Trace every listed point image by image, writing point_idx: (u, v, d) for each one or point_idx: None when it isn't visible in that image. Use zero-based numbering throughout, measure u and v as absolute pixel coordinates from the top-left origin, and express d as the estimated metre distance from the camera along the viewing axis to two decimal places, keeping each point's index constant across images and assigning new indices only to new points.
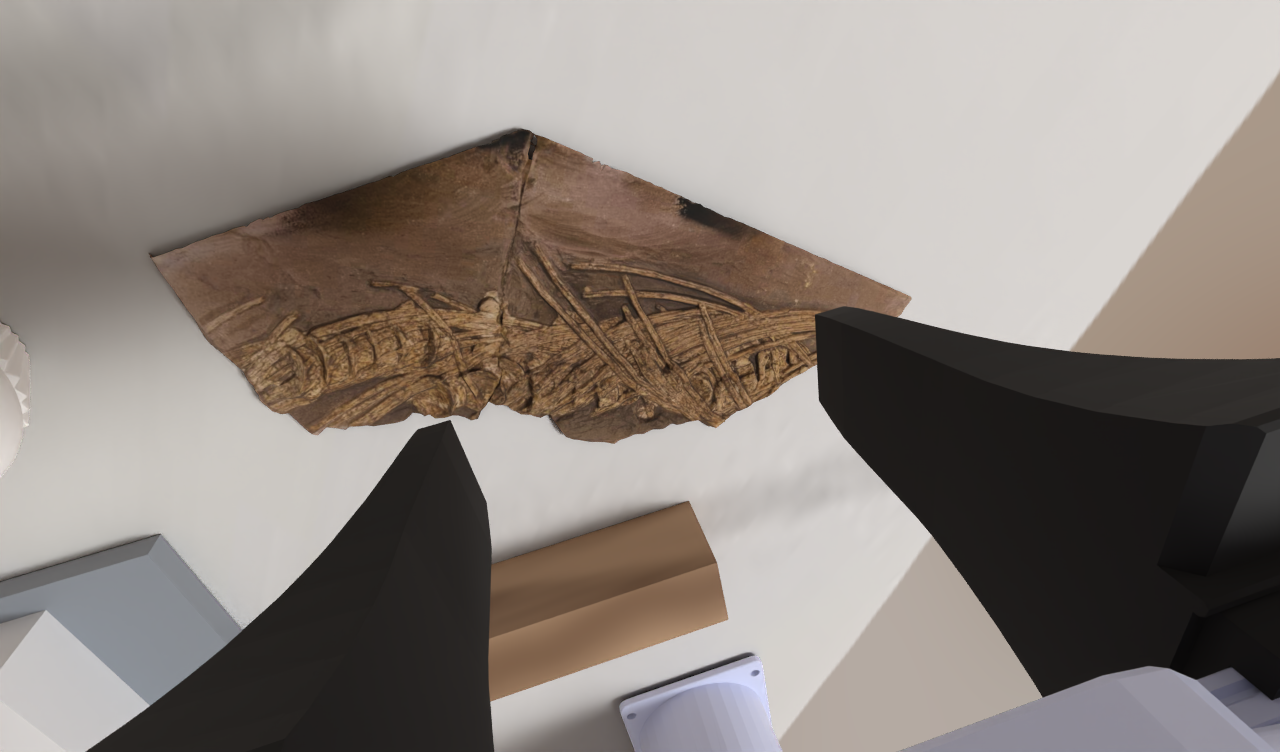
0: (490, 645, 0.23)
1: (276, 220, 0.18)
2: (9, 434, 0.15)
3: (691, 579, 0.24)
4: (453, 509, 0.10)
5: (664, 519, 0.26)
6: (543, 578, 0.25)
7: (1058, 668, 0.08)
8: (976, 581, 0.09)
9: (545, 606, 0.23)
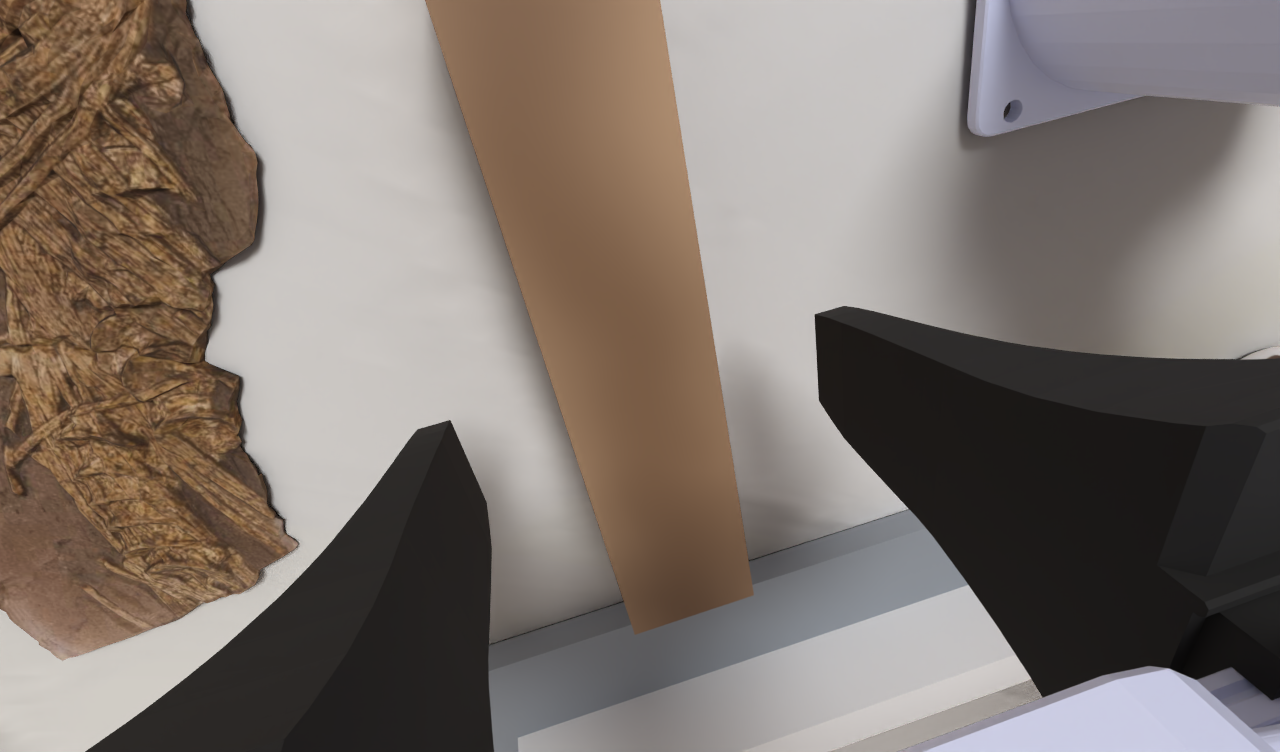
0: (587, 435, 0.13)
1: None
2: None
3: (462, 17, 0.09)
4: (453, 509, 0.10)
5: None
6: None
7: (1057, 667, 0.08)
8: (975, 581, 0.09)
9: None
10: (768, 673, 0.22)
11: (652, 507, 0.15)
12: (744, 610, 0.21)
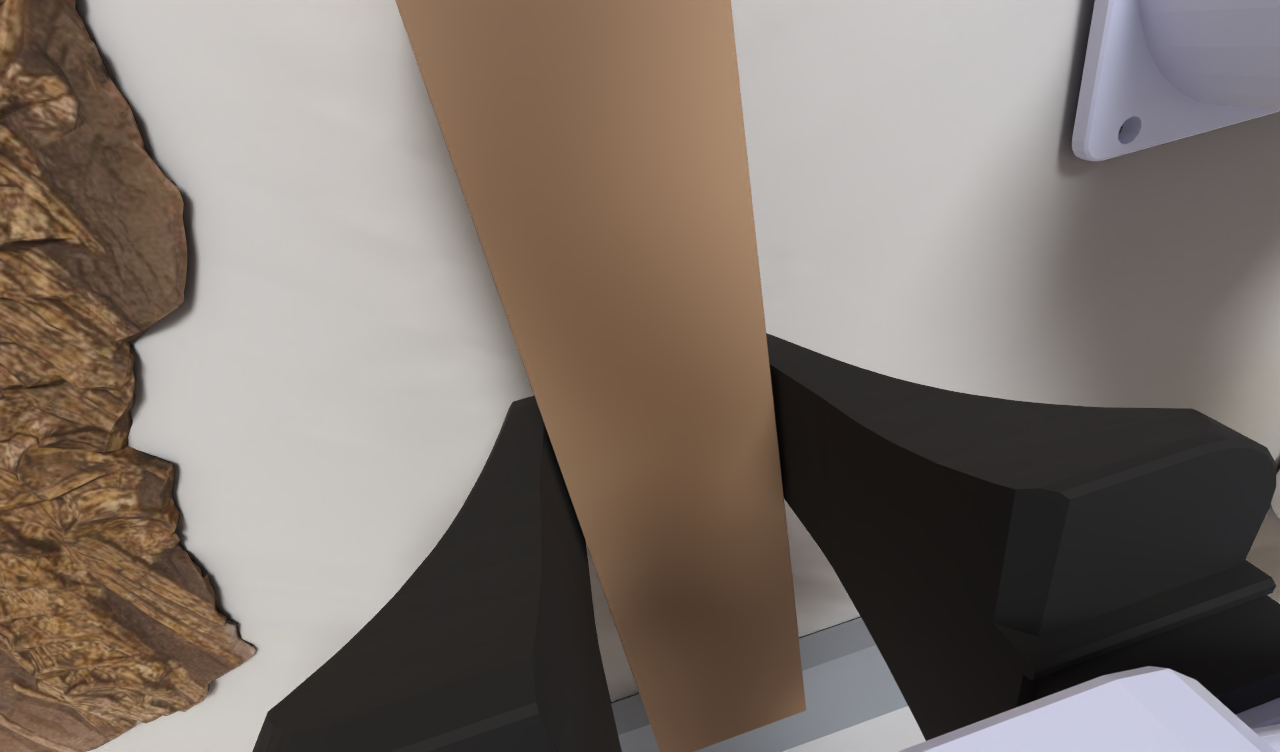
0: (612, 549, 0.10)
1: None
2: None
3: (446, 12, 0.06)
4: (560, 477, 0.10)
5: None
6: None
7: (932, 712, 0.08)
8: (868, 618, 0.09)
9: None
10: None
11: (689, 625, 0.12)
12: None
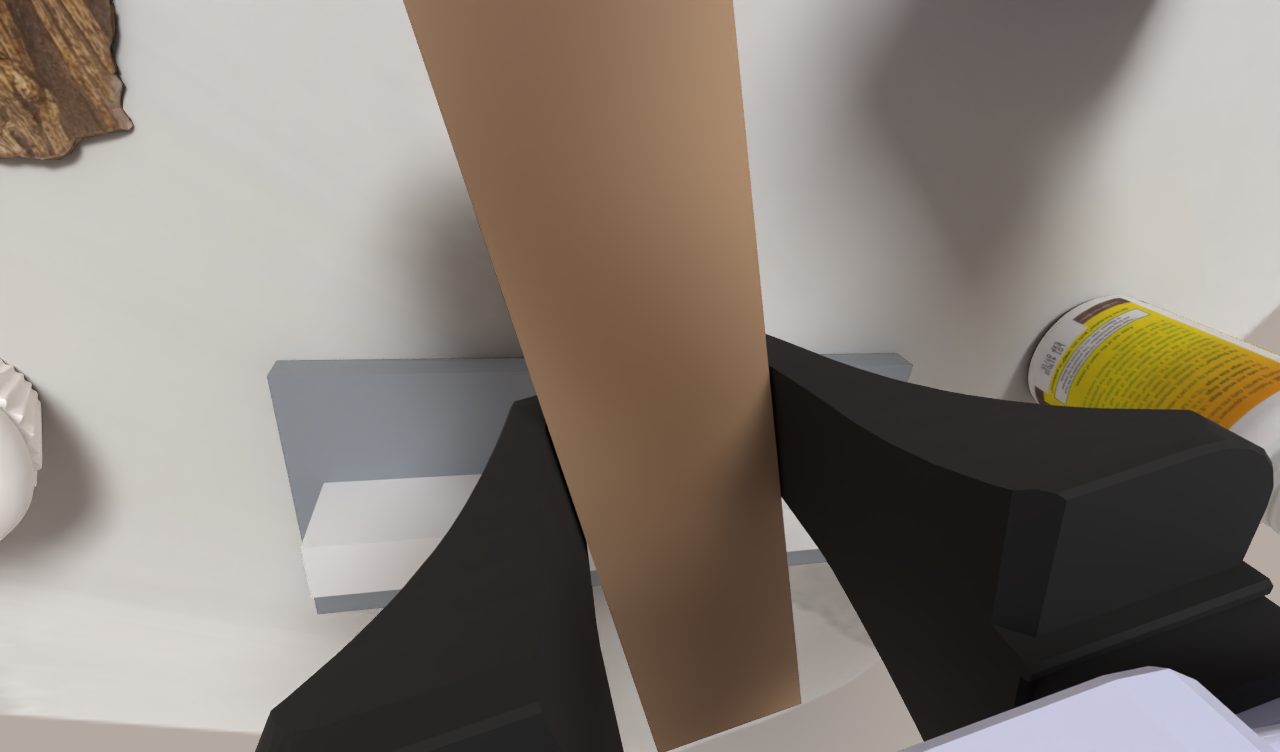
0: (609, 538, 0.10)
1: None
2: None
3: None
4: (561, 476, 0.10)
5: None
6: None
7: (932, 714, 0.08)
8: (867, 619, 0.09)
9: None
10: None
11: (685, 616, 0.12)
12: None
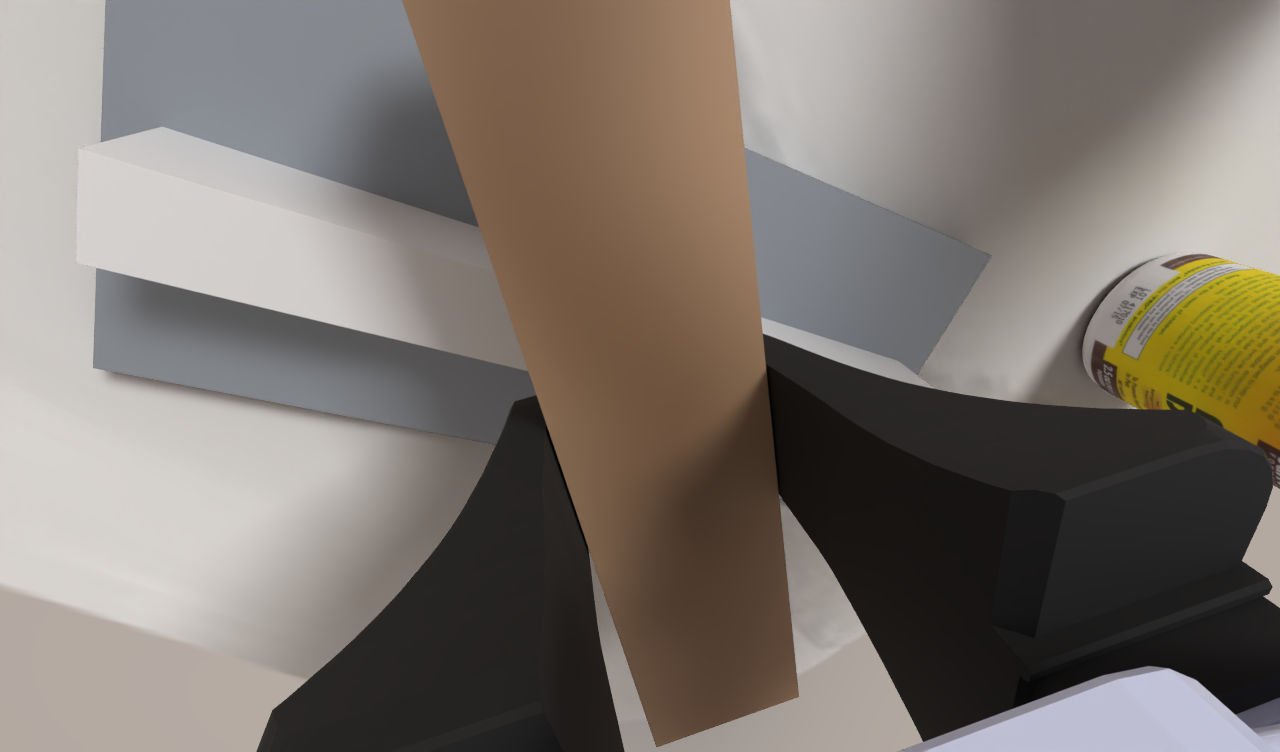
0: (606, 531, 0.10)
1: None
2: None
3: None
4: (562, 476, 0.10)
5: None
6: None
7: (930, 714, 0.08)
8: (865, 619, 0.09)
9: None
10: None
11: (683, 609, 0.12)
12: None
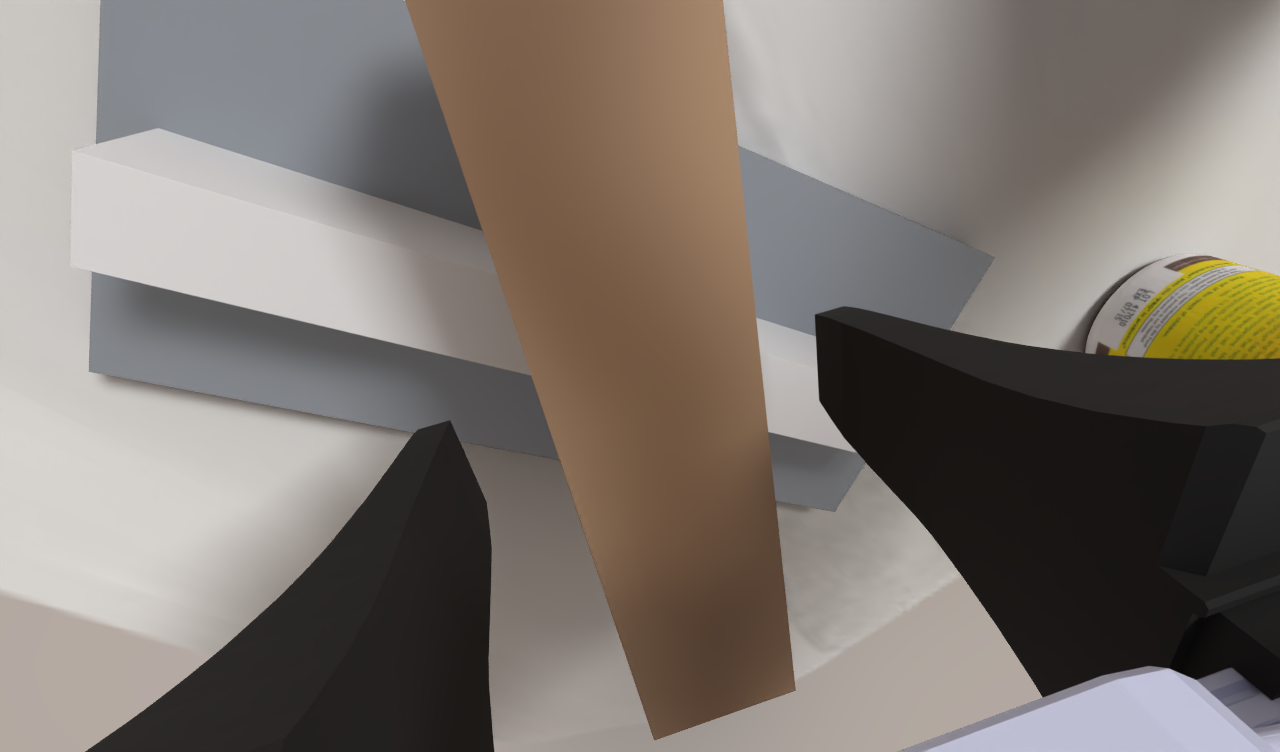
0: (604, 522, 0.11)
1: None
2: None
3: None
4: (453, 509, 0.10)
5: None
6: None
7: (1058, 668, 0.08)
8: (976, 581, 0.09)
9: None
10: None
11: (680, 601, 0.12)
12: None
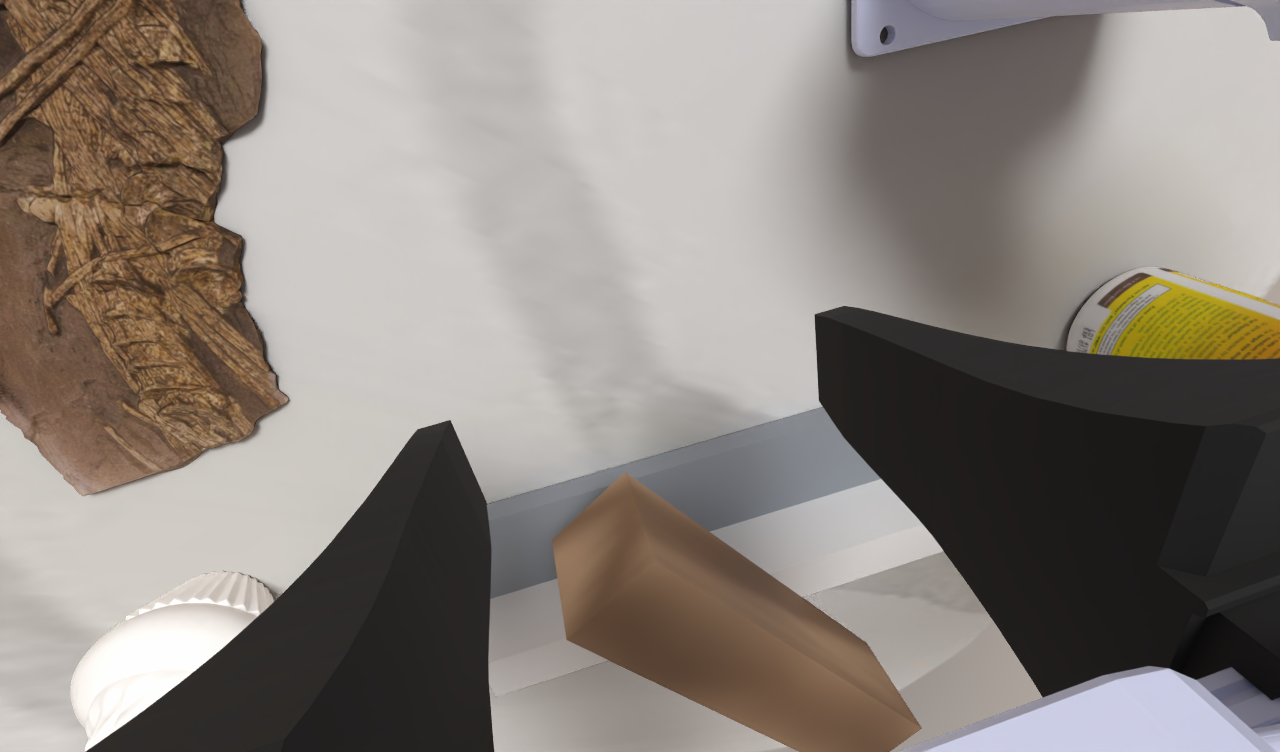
0: (763, 724, 0.21)
1: (2, 406, 0.18)
2: (190, 623, 0.19)
3: (606, 644, 0.17)
4: (453, 509, 0.10)
5: None
6: None
7: (1057, 668, 0.08)
8: (976, 581, 0.09)
9: None
10: None
11: (823, 729, 0.22)
12: (679, 488, 0.25)
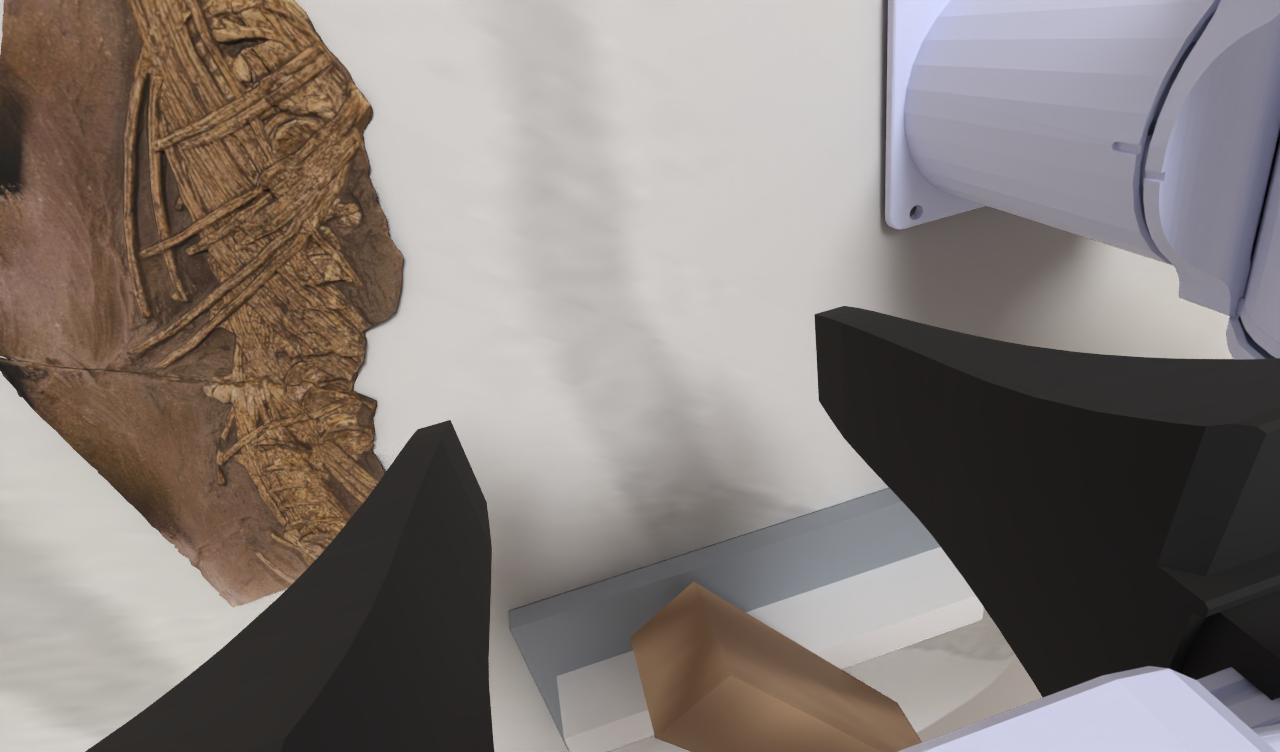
0: None
1: (176, 542, 0.21)
2: None
3: (686, 738, 0.21)
4: (453, 509, 0.10)
5: None
6: None
7: (1058, 668, 0.08)
8: (976, 581, 0.09)
9: None
10: None
11: None
12: (732, 575, 0.28)
